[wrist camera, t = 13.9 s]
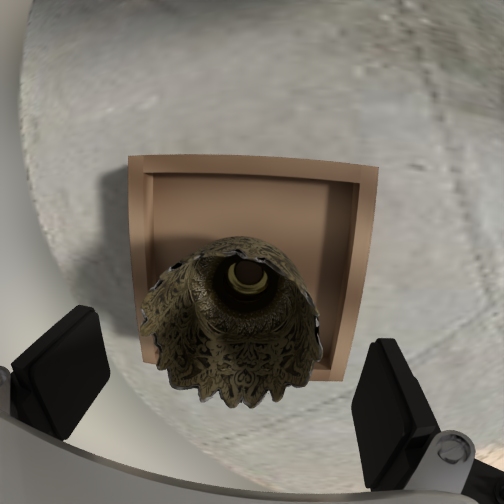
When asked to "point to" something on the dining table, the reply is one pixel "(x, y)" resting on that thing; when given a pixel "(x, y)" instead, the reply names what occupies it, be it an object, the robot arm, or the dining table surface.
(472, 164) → the dining table surface
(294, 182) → the shallow wooden tray
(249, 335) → the cup
